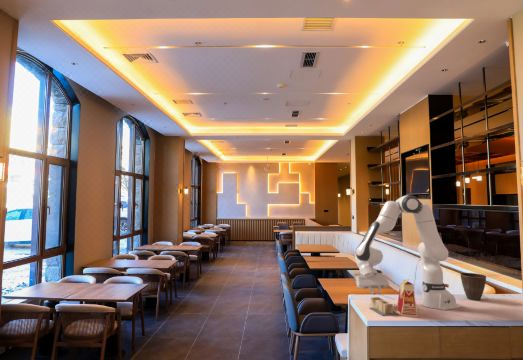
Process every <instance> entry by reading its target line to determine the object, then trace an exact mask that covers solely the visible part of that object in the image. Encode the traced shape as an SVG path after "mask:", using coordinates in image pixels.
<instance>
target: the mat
mask: <svg viewBox="0 0 523 360" xmlns="http://www.w3.org/2000/svg"><path fill="white" fill-rule="evenodd" d="M369 310H371V311H373V312H375V313H376V314H378V315H380V316H382V317H384V316H388V317H389V316H399V312H395V311H394V310H393V313H388V314H385V313H383V312H381V311H379V310H377V309H375V308H374V307H372V306H369Z"/></svg>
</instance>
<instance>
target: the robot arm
mask: <svg viewBox="0 0 523 360" xmlns="http://www.w3.org/2000/svg"><path fill="white" fill-rule="evenodd" d="M402 213H406V214H412V215H413V217H414V220H415V226H416V230H417V234H418V235H419V237H420V239H421V240H422V242H420V243H419V244H418V246H417V253H418V254H419V257H420V261H421V266H422V279H423V281H422V297H421V302H420V305H421V306H424V307H426V308H430V309H435V310H437V309H438V310H443V311H448V310H453V309H459V308H460V309H461V305H460V304H459V303H457V302H456V297H455V295H454V294H452V293H451V292H449V291H448V290H447V289H448V288H450V285H449V284H447V283H444V275H443V274H444V273H443V272H444V271H443V268H442V267H441V263H440V262H443V261H446V260H447V259H448V257H449V250H448V248H447V247H446V246H445V243H443V240H442V238H441V236H440V234H439V232H438V227H437V224H436V221H435V220H436V219H435V216H434V213H433V211H432V208H431V207H430V205H429V204H428V203H422V202H421V201H420V199H418V198H417V196H414V195H403V196H399V197H398V198H396V200H387V201H386V202H385V203H384V205H383V206H382V208H381V210H380V211H379V214H378V217H377V218H376V220H375V221H374V222H372V223H371V224H370V226H369V227H368V229H367V231H366V233H365V235H364V237H363V239H362V240H361V241H360V243H359V245H358V246H357V247H356V249H355V254H354V259H355V263H356V266H357V267H358V269H359V273H360V274H358V273H357V274H354V276H353V277H354V280H355V284H356V287H357V289H359V290H361V289H362V290H363V289H364V290H365V289H367V290H368V291H369V292H370V293H371V295H376V293H377V295H381V294H382V291H381V289H387V288H388V287H389V285H390V282H389V280H388V279H387V276H386V275H385V274H384V271H383V270H380V269H377V268H374V267H376V266H377V265H379V264H380V263H381V262H382V261H383V258H384V257H383V256H384V255H383V252H382V251H381V250H380V249H378V248H375V247H372V244H373V243H374V240H375V238H376V237H377V235H378V234H380V233H386V232H390V231H392V230H393V229H394V228H395V226H396V224H397V220H398V218H399V216H400V214H402ZM374 289H377V291H375V290H374Z"/></svg>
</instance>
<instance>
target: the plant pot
mask: <svg viewBox="0 0 523 360" xmlns="http://www.w3.org/2000/svg"><path fill="white" fill-rule="evenodd" d="M459 274H460V280H461V285H462V288H463V292H464V294H465V297H466V298H467V300H470V301H478V302H479V301H481V299H482V296H483V294H484V291H485V288H486V287H485V286H486V282H487V276H486V274H485V275H484V274H481V273H473V272H461V273H459Z"/></svg>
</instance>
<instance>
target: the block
mask: <svg viewBox="0 0 523 360" xmlns="http://www.w3.org/2000/svg"><path fill="white" fill-rule="evenodd" d="M370 307H374V308H375V309H377V310H379V311H381V312H383V313H385V314H388V313H393V311H394V306H393V303H391V302H389V301H387V300H385V299H384V298H381V297H375V296H374V297H370Z"/></svg>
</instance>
